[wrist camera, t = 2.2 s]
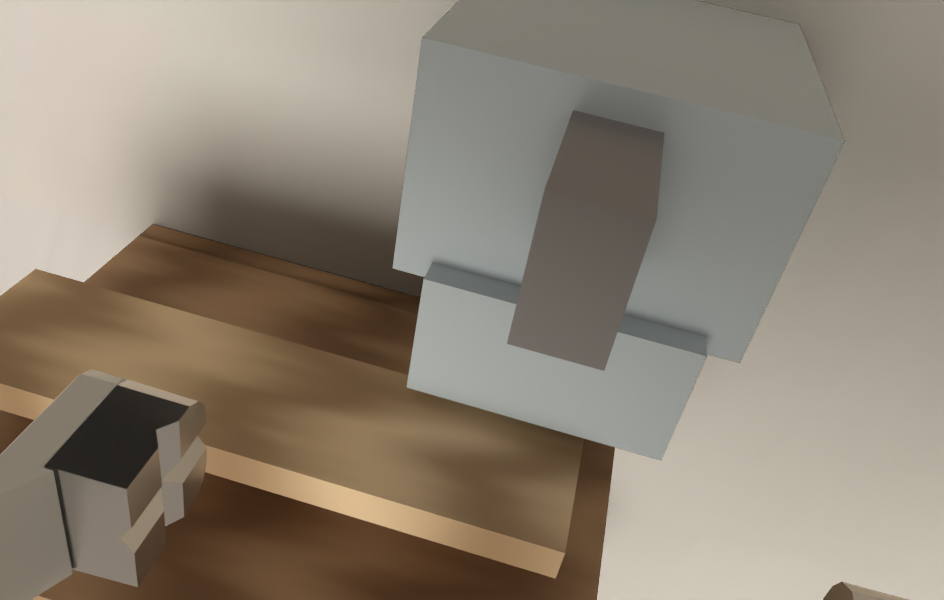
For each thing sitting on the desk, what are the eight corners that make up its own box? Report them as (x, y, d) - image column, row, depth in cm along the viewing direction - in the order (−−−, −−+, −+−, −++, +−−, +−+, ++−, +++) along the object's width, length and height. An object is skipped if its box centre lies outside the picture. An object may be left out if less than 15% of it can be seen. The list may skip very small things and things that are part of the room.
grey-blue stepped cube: (799, 24, 24) (881, 234, 13) (698, 276, 29) (698, 571, 18) (504, -45, 24) (357, 101, 14) (458, 213, 30) (327, 459, 19)
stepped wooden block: (652, 281, 29) (617, 692, 16) (602, 418, 33) (543, 834, 20) (146, 147, 31) (-245, 420, 18) (157, 292, 35) (-156, 600, 22)
